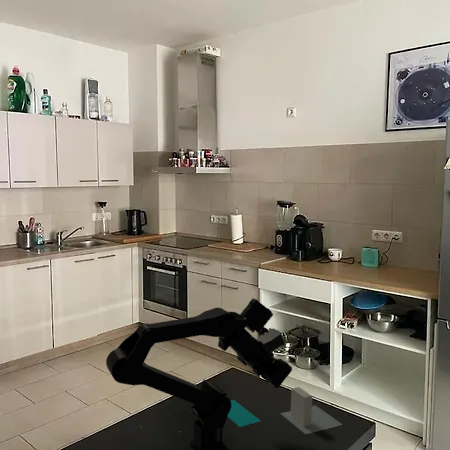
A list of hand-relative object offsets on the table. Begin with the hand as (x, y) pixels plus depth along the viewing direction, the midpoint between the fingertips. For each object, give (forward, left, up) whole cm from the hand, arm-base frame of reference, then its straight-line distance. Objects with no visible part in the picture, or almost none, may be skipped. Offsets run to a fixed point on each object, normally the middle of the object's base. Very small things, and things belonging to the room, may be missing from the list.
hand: (281, 381), depth 121 cm
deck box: (+7, -1, -12) cm, 14 cm away
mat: (+10, -2, -13) cm, 16 cm away
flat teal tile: (-4, +13, -13) cm, 19 cm away
